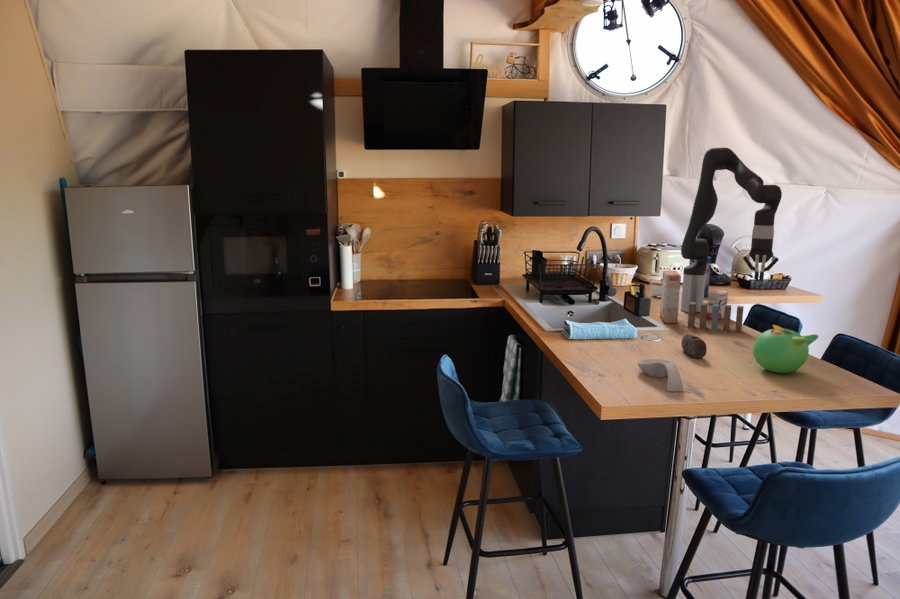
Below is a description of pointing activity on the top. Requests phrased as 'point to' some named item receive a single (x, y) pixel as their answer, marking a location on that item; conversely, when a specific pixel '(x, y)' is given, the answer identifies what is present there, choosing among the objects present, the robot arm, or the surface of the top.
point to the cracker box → (670, 296)
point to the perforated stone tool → (694, 346)
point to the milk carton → (707, 275)
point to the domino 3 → (715, 317)
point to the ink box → (717, 302)
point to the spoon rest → (663, 372)
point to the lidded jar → (656, 287)
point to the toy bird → (782, 349)
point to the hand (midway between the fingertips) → (758, 281)
